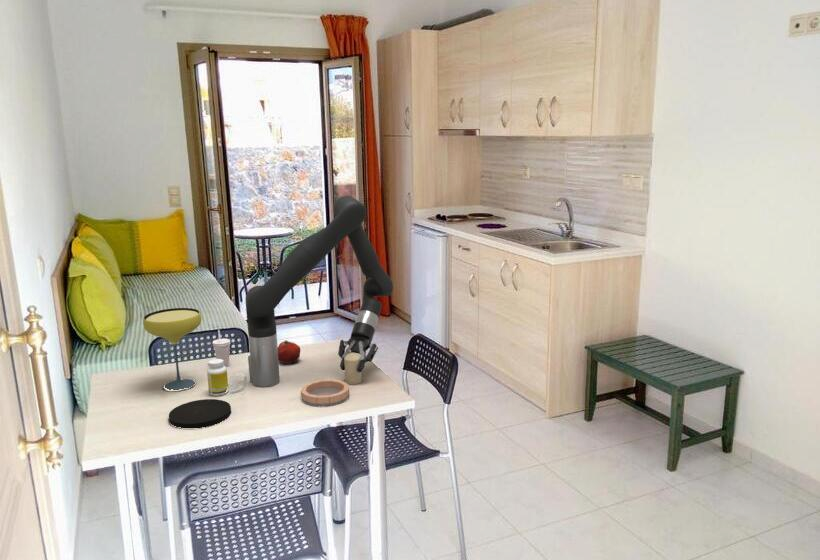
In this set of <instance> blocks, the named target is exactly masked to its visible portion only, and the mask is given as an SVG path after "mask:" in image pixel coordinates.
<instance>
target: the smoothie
mask: <svg viewBox="0 0 820 560" xmlns="http://www.w3.org/2000/svg"><path fill="white" fill-rule="evenodd" d="M217 333H218V338H217V339H214V340H213V341H212V346H213V350H214V352H215V353H214V354H215V359H223V360H224V365H223V366H225V367H226V368H228V367H229V366H230V348H231V343H232V342H231V339H230V338H221V331H220V329H217Z"/></svg>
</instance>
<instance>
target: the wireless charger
mask: <svg viewBox="0 0 820 560" xmlns="http://www.w3.org/2000/svg"><path fill="white" fill-rule="evenodd" d="M230 414H232V407H231V404H230V403H229V402H227V401H225V400H222V399H215V398H207V399H198V400H197V399H196V400H191V401H188V402H185V403H181V404H180V405H178V406H175V407H174V408H172V409H171V410H170V412H169V413H168V421H169V424H170V423H171V424H172V425H174V426H176V427H175V428H177V427H181V428H199V429H203V428H202V427H205V428H208V427H213V426H215V424H216V425H218V424H220V422H221V423H223V422H224V421H226V420H227V419H228V418H230V416H231V415H230ZM225 419H226V420H225ZM222 421H223V422H222ZM171 424H170V425H171ZM172 425H171V426H172ZM174 426H173V427H174ZM181 428H180V429H181Z"/></svg>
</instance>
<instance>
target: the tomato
mask: <svg viewBox="0 0 820 560" xmlns="http://www.w3.org/2000/svg"><path fill="white" fill-rule="evenodd" d="M277 346H278V361H279V362H280V363H284V364H289V363H295V362H297V361H298V360H299V358H300V357H301V356H300V355H301V347H300V345H298V344H297V343H295V342H292V341H289V340H284V341H282V342H280V343H279V344H278V345H277Z"/></svg>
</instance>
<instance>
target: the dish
mask: <svg viewBox="0 0 820 560" xmlns="http://www.w3.org/2000/svg"><path fill="white" fill-rule="evenodd" d="M300 397H301V401H302V403H304V404H306V405H309V406H312V407H319V406H320V408H321V407H322V406H324V407H330V406H331V405H332V406H335V405H336V404H337V405H339V403H340V404H342V403H344V402H346V401H347V400H348V399H349V398H348V397H350V384H347V383H346V382H345V381H344V380H339V379H332V378H331V379H319V380H315V381H310V382H308V383H307V384H305V385H303V386H302V387H301V389H300ZM347 398H348V399H347ZM346 399H347V400H346ZM345 400H346V401H345ZM341 402H342V403H341ZM337 405H336V406H337ZM332 406H331V407H332Z"/></svg>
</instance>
